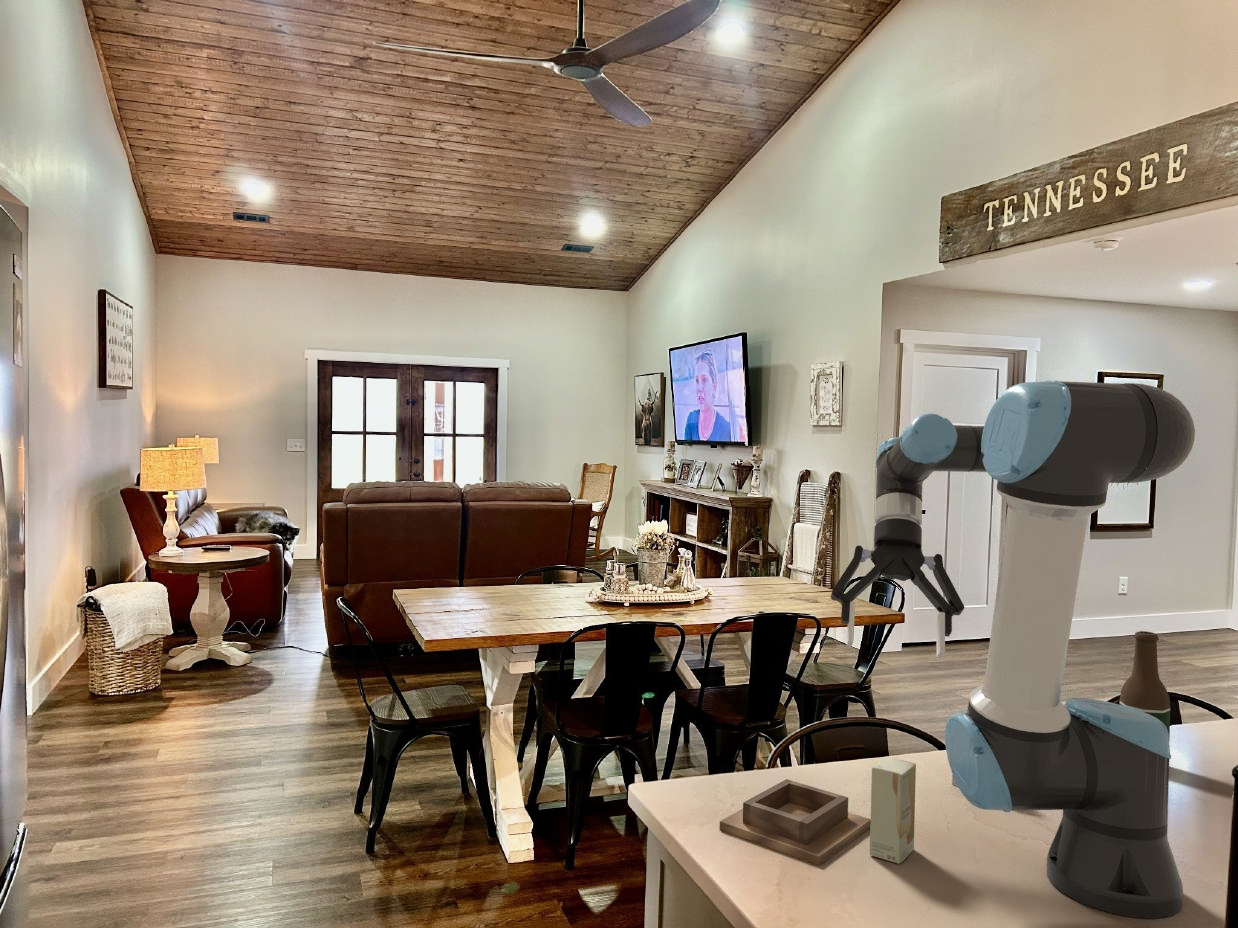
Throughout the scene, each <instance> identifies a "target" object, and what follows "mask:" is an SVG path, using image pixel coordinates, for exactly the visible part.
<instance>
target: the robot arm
mask: <svg viewBox="0 0 1238 928" xmlns="http://www.w3.org/2000/svg"><path fill="white" fill-rule="evenodd" d="M1195 435H1196V430H1195V424H1194V420H1193V417H1192V415H1191V413H1190V411H1189V410H1188V409H1187V407H1186V406H1185V404H1184V403H1183V402H1182V401H1181V400H1180V399H1179V398H1178V397H1176V396H1175V395H1174V394H1172V393H1171V392H1169V391H1166V390H1164V389H1162V388H1159V387H1157V386H1154V385H1153V386H1152V385H1150V384H1149V385H1148V384H1145V383H1135V382H1131V383H1130V382H1127V383H1125V382H1124V383H1119V382H1118V383H1115V382H1113V383H1111V382H1110V383H1109V382H1090V381H1089V382H1087V381H1086V382H1085V381H1083V382H1082V381H1062V380H1061V381H1060V380H1049V379H1048V380H1045V381H1030V382H1029V381H1028V382H1021V383H1018V384H1017V383H1016V384H1014V385H1012V386H1010V387H1008V388H1007V389H1006V390H1004V391H1003V393H1002V394H1001V396H999V397H998V398H997V399H996V400H995V402H994V403H993V405H992V406H991V408H990V410H989V411H988V414H987V417H986V420H985V423H984V425H976V426H975V425H974V426H973V425H955V424H953V423H952V422H951V421H950V419H948V418H946V417H943V416H941V415H939V414H937V413H924V414H921V415H919V416H917V417H915V418H914V420H913V421H912V422H911V423H909V425H907V426H906V427H905V429H904V430H903V431H902V432H901V435H900V436H897V437H891V438H889V439H888V440H884V441H883V442H882V443H881V444H880V445H879V446H878V449H877V450H878V451H877V457H876V461H875V465H876V466H875V467H876V478H875V479H876V480H875V481H876V483H875V508H874V509H875V513H874V514H875V515H874V523H875V526H874V532H873V548H872V550H870V549H866V548H863V546H862V545H855V548H854V550H853V551H854V553H853V556H852V559H851V560H850V563H849V564H848V566H847V567H846V568H845V570H844V572H843V573H842V575H841V576H840V578H839V580H838V581H837V582H836V584H835V586H834V587H833V588H832V591H831V595H830V599H831V601H836V602H838V603H840V605H841V613H840V614H841V615H840V621H841V624H843V625H847V631H846V632H847V635H846V647H852V646H853V643H854V637H855V636H854V635H855V634H854V633H855V619H856V618H855V615H856V601H855V600H856V599H857V598H858V597H859V595H861V594H862V593H863V592H864V591H865V590H867V588H868V587H869V586H871V585H872V584H873V583H874V582H875V581H877V580H878V579H879V578H880V577H884V578H885V579H886V580H899V581H901V582H902V581H903V582H906V581H908V580H910V581H911V583H913V585H915V586H916V587H917V588H918V589H919V590H920V591H921V593H922V594H923V595H924V597H926V599H927V600H928V601H929V603H931V605H932V606H933V607H934V608H935V609H936V611H937V612H938V614H937V616H936V641H935V642H936V646H935V647H936V649H935V651H936V658H939V659H942V658H943V657H944V656H945V654H946V637H950V635H951V634H952V632H953V617H954V616H960V615H961V614H962V612H963V611H964V610H965V605H964V603H963V601H962V599H961V597H960V595H959V593H958V591H957V589H956V588H955V586H954V584H953V582H952V580H951V579H950V576H949V575H948V573H947V571H946V568H945V567H944V560H943V556H942V554H939V553H936V554H935V555H934V556H929V555H927V556H926V555H924V554H923V549H922V546H923V545H922V542H923V541H922V540H923V539H922V538H923V537H922V536H923V532H922V531H923V530H922V527H921V526H922V524H923V484H924V481H925V480H926V479H928V478H929V476H930V475H932V474H933V472H960V473H962V472H965V473H966V472H968V473H970V472H971V473H972V472H976V473H977V472H979V473H987V474H988V476H990V477H991V478H992V479H994V480H995V481H997V483H996V492H997V493H998V494H999V496H1001V498H1002V499H1003V500H1004V501H1005V502H1006V504H1007V511H1006V518H1005V527H1004V532H1003V533H1004V534H1003V540H1002V548H1001V556H1000V562H999V563H1000V564H999V570H998V571H999V572H998V578H997V587H996V593H995V600H994V608H993V615H992V622H991V629H990V630H991V631H990V638H989V644H988V654H987V660H986V666H985V673H984V674H985V676H984V683H982V684H980V685H979V686H977V687H975V688H974V689H972V690H971V691H970V693H969V696H968V703H967V704H968V705H967V711H966V713H965V712H961V711H958V712H957V713H953V714H952V715H951V716H950V717H949V718H947V722H946V725H945V729H944V742H945V744H944V745H945V752H946V757H947V761H948V764H949V767H950V768H949V769H950V771H951V775H952V774H953V777H954V779H955V781H956V783H957V786H958V787H957V788H959V791H960V792H961V794H962V796H963V797H965V799H966V800H967V801H968V802H969V803H970V804H971V805H972V806H974V807H975V808H978V809H980V810H984V811H986V810H987V811H989V810H991V811H1002V812H1005V813H1011V811H1057V810H1058V811H1059V810H1061V811H1062V817H1061V821H1060V823H1059V826H1058V828H1057V830H1056V833H1055V835H1054V836H1053V837H1054V838H1053V840H1052V842H1051V845H1050V848H1049V850H1048V852H1047V856H1046V877H1047V879H1048V881H1049V882H1050V883H1051V884H1052V885H1053V886H1054V887H1055V888H1056V890H1057V889H1058V890H1059V891H1060V892H1061V893H1063V894H1065V895H1066V896H1068V897H1069V898H1072V900H1076V901H1078V902H1080V903H1081V904H1084V905H1087V906H1089V907H1091V908H1094V909H1096V910H1097V909H1098V910H1101V911H1104V912H1107V913H1113V914H1116V915H1120V916H1126V917H1132V918H1133V917H1134V918H1143V919H1158V918H1165V917H1171V916H1173V915H1175V914H1177V913H1179V912H1180V911H1181V910H1182V908H1183V903H1184V885H1183V882H1182V879H1181V877H1180V874H1179V871H1178V866H1177V864H1176V861H1175V857H1174V855H1173V854H1174V853H1173V852H1172V848H1171V846H1170V842H1169V840H1168V825H1169V824H1168V823H1169V783H1170V781H1169V778H1170V777H1169V775H1170V760H1171V759H1172V754H1171V749H1170V740H1169V733H1168V730H1167V728H1166V726H1165V725H1164V724H1163V723H1162V722H1161V721H1160V720H1159V719H1157V718H1155V717H1153V716H1151V715H1149V714H1147V713H1144V712H1142V711H1139V710H1136V709H1133V708H1129V707H1126V706H1122V705H1120V703H1119V704H1118V703H1114V702H1110V701H1104V700H1099V699H1094V698H1093V699H1092V698H1085V697H1071V698H1068V699H1067V700H1065V704H1063V703H1062V702H1061V694H1062V693H1061V691H1062V686H1063V680H1064V674H1065V668H1066V660H1067V655H1068V648H1069V642H1070V635H1071V629H1072V622H1073V616H1074V611H1075V610H1074V609H1075V603H1076V596H1077V589H1078V585H1079V584H1078V582H1079V576H1080V573H1081V572H1080V571H1081V570H1080V569H1081V564H1082V558H1083V551H1084V546H1085V545H1084V544H1085V540H1086V533H1087V525H1088V521H1089V520H1088V519H1089V516H1091V515H1092V514H1093V513H1095V512H1096V511H1098V510H1099V509H1101V508H1102V507H1104V506H1106V502H1107V494H1108V490H1109V484H1127V483H1128V484H1130V483H1131V484H1132V483H1135V484H1136V483H1143V482H1149V481H1153V480H1154V481H1155V480H1156V479H1157V480H1158V479H1160V478H1162V477H1165V476H1167V475H1168V474H1170V473H1172V472H1174V471H1175V470H1177V469H1178V468H1179V467H1180V466H1182V465H1183V463H1184V462H1185V461H1186V460H1187V458H1188V457H1189V456H1190V453H1191V452H1192V449H1193V446H1194V444H1195V437H1196V436H1195ZM867 559H870V560H871V562H872V563H873V565H874V566H873V567H872V568H871V570H870V571H868V572H867V573H866V574H865V575H864V576H863V577H861V578H860V580H858V581H857V582H856V583H855V584H854V585H853V586H852V587H851V588H850V589H849V590H848V591H846V592H844V590H845V589H846V587H847V586H848V584H849V582H850V581H851V579H852V578H853V576H854V574H855V573H856V572H857V570H858V568H859V566H860V563H865V562H866V561H867ZM923 565H926V566H927V568H928V570H931V571H932V573H933V576H934V578H935V580H936V582H937V584H938V586H939V587H940V588H939V589H940V590H941V591H942V593H943V595H944V596H943V595H942V594H941V593H940V592H939V590H938V589H937V588H936V587H935V586H934V585H933V583H932V582H930V580H929V578H927V577H926V573H925V572H924V571H923V570H922V569H921V568H922V567H923ZM944 597H945V598H944Z"/></svg>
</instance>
